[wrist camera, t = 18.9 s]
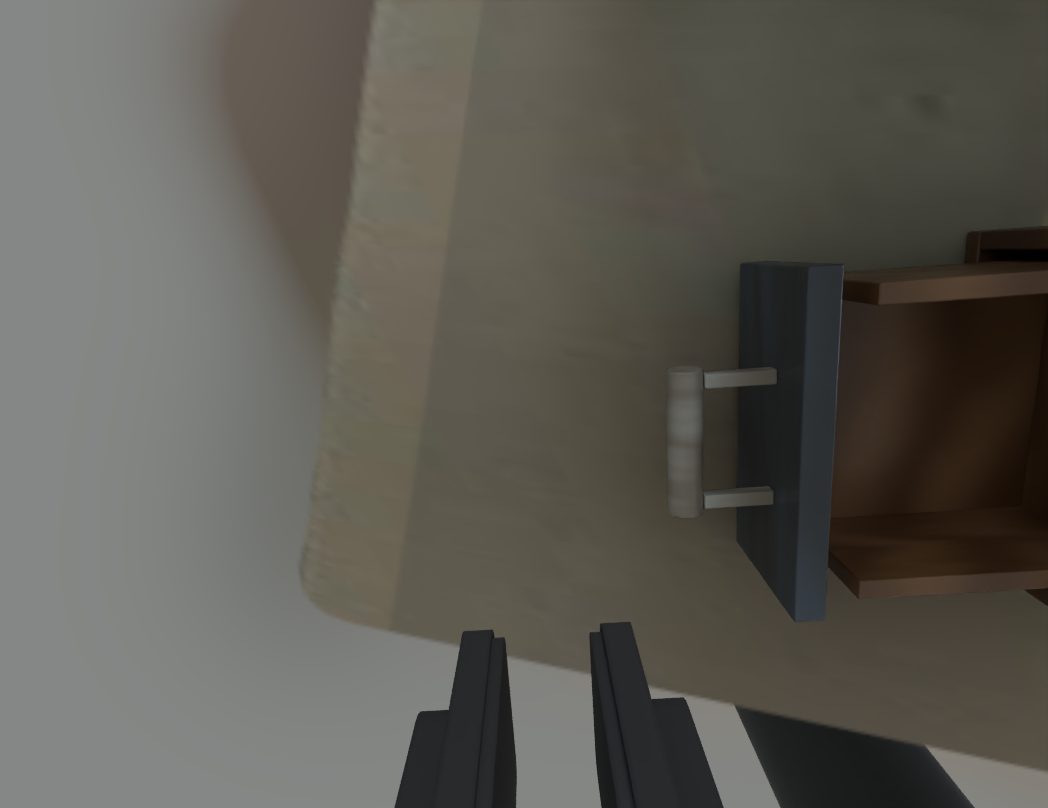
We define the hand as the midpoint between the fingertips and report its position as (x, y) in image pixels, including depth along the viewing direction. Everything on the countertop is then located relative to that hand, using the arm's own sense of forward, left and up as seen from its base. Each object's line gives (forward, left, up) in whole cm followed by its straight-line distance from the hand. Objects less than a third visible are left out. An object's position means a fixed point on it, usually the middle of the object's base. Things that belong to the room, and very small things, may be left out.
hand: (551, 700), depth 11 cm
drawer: (0, -14, -18) cm, 23 cm away
